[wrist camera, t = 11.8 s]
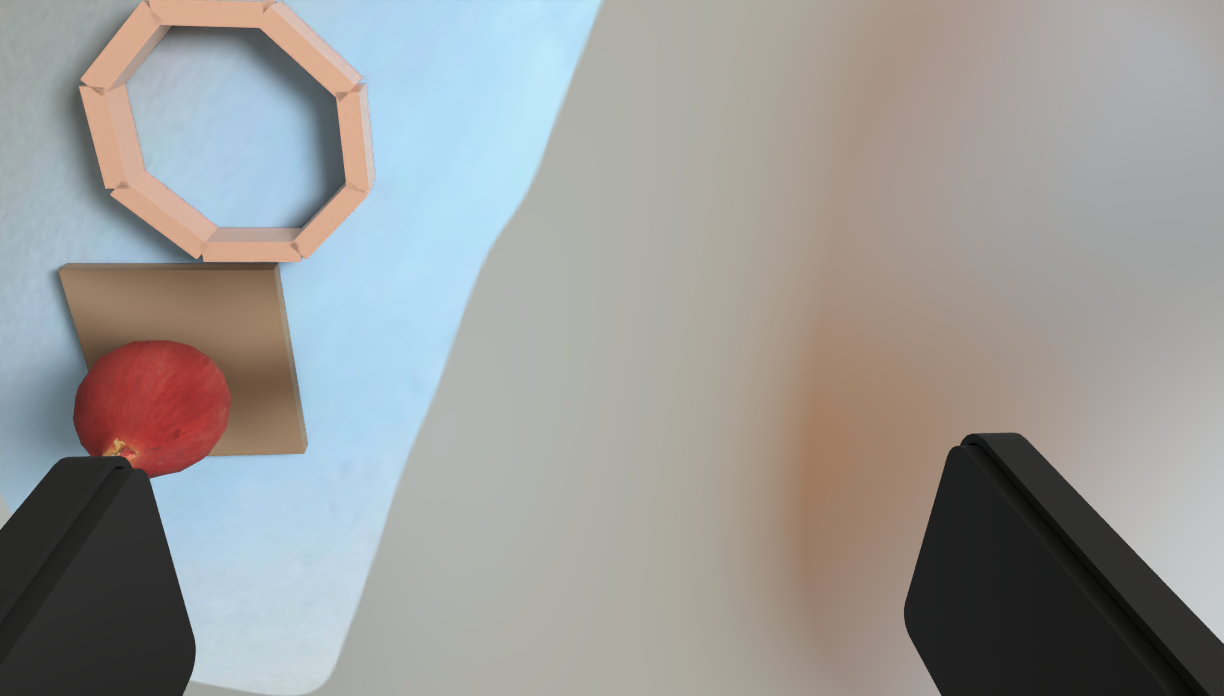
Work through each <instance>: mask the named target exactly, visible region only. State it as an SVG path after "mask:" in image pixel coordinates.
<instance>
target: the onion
mask: <svg viewBox="0 0 1224 696" xmlns="http://www.w3.org/2000/svg"><path fill="white" fill-rule="evenodd" d="M231 400H232V398H231V395H230V392H229V389H228V386H227V383H226V381H225V378H224V375H223V373H222V371H221V370H220V369H219V368H218V367H217V366H216V364H215V363H214V362H213V361H212V360H211V358H210V357H208V356H207V355H205V354H204V353H202V352H200V351H199V350H197V349H196V348H194V347H192V346H191V345H187V344H183V343H178V342H174V341H170V340H154V341H133V342H131V343H128V344H126V345H124V346H122V347H119V348H117V349H115V350H112V351H111V352H109V353H107V354H105V355H103V356H101V357H100V358H99V359H98V360H97V361H96V363H95V364H94V366H93V367H92V368H91V370H90V371H89V372H88V374H87V375H86V377H85V378H84V380H83V381H82V383H81V384H80V386H79V387H78V390H77V394H76V398H75V407H74V416H73V420H74V425H75V428H76V431H77V434H78V437H79V439H80V442H81V445H82V446H83V447H84V448H85V450H86V451H87V452H88V453H89V454H90V456H122V457H125V458H126V459H127V460H128V461H129V462H130V463H131V466H132V468H133V469H134V468H140V469H143V470H144V471H145V472H146V473H147V475H148V477H149V479H150V478H154V477H158V476H162V475H166V474H171V473H176V472H180V471H182V470H184V469H186V468H188V467H189V466H191V465H193V464H195V463H197V462H199V461H200V460H202V459H203V458H204V457H206V456H207V455H208V454H209V453H210V452H211V450H212V449H213V448H214V446H215V445H216V443H217V442H218V441H219V439H220V438H221V436H222V435H223V433H224V432H225V430H226V429H227V424H228V417H229V411H230V406H231Z"/></svg>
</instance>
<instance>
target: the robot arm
mask: <svg viewBox="0 0 1224 696" xmlns="http://www.w3.org/2000/svg"><path fill="white" fill-rule="evenodd" d="M904 619H905V625H906V628H907V631H908V634H909V636H910V638H911V640H912V642H913V644H914V646H915V647H916V649H917V651H918V653H919V655H920V657H921V659H922V660H923V662H924V664H925V666H926V668H927V670H928V672H929V673H930V675H931V677H932V679H933V681H934V683H935V684H936V686H937V688H938V690H939V692H940V694H941V696H1224V644H1223V643H1222V642H1221V641H1220V640H1219V639H1218V638H1217V637H1216V636H1215V635H1214V634H1213V633H1212V632H1211V630H1210V629H1209V628H1208V627H1207V626H1206V625H1205V624H1204V623H1203V622H1202V621H1201V620H1200V619H1199V618H1198V617H1197V616H1196V615H1195V614H1194V613H1193V612H1192V611H1191V610H1190V609H1189V608H1188V607H1187V606H1186V604H1185V603H1184V602H1183V601H1182V600H1181V599H1180V598H1179V597H1178V596H1177V595H1176V594H1175V593H1174V592H1173V591H1172V590H1171V589H1170V588H1169V587H1168V586H1167V585H1166V584H1165V583H1164V582H1163V581H1162V580H1161V579H1160V577H1159V576H1158V575H1157V574H1156V573H1155V572H1154V571H1153V570H1152V569H1151V568H1150V567H1149V566H1148V565H1147V564H1146V563H1145V562H1144V561H1143V560H1142V559H1141V558H1140V557H1139V556H1138V555H1137V554H1136V553H1135V551H1134V550H1133V549H1132V548H1131V547H1130V546H1129V545H1128V544H1127V543H1126V542H1125V541H1124V540H1123V539H1122V538H1121V537H1120V536H1119V535H1118V534H1117V533H1116V532H1115V531H1114V530H1113V529H1112V528H1111V527H1110V526H1109V524H1107V522H1106V521H1105V520H1104V519H1103V518H1102V517H1101V516H1100V515H1099V514H1098V513H1097V512H1096V511H1095V510H1094V509H1093V508H1092V507H1091V506H1090V505H1089V504H1088V503H1087V502H1086V501H1085V500H1084V499H1083V498H1082V496H1081V495H1079V494H1078V492H1077V491H1076V490H1075V489H1074V488H1073V487H1072V486H1071V485H1070V484H1069V483H1068V482H1067V481H1066V480H1065V479H1064V478H1063V477H1062V476H1061V475H1060V474H1059V473H1058V472H1057V470H1056V469H1055V468H1054V467H1053V466H1051V464H1050V463H1049V462H1048V461H1047V460H1046V459H1045V458H1044V457H1043V456H1042V455H1041V454H1040V453H1039V452H1038V451H1037V450H1036V449H1035V448H1034V447H1033V446H1032V445H1031V443H1029V441H1028V440H1027V439H1025V438H1024V437H1023V436H1022V435H1020V434H1017V433H981V434H980V433H978V434H970V435H967V436H966V437H965V438H964V439H963V440H962V442H961V444H960V446H955V447H953V448H952V449H951V450H950V451H949V454H948V456H947V460H946V463H945V466H944V470H943V473H942V477H941V480H940V484H939V487H938V490H937V494H936V498H935V501H934V505H933V508H932V511H931V515H930V518H929V522H928V525H927V529H926V532H925V536H924V539H923V543H922V546H921V550H920V553H919V556H918V560H917V564H916V567H915V570H914V574H913V577H912V581H911V585H910V588H909V592H908V595H907V598H906V602H905V607H904ZM195 654H196V645H195V639H194V635H193V632H192V628H191V625H190V621H189V618H188V614H187V610H186V607H185V603H184V600H183V596H182V593H181V589H180V586H179V582H178V579H177V575H176V572H175V568H174V564H173V561H172V557H171V554H170V550H169V547H168V543H167V540H166V536H165V533H164V529H163V525H162V522H161V518H160V515H159V511H158V508H157V504H156V501H155V497H154V494H153V490H152V487H151V483H150V480H149V477H148V475H147V473H146V472H145V471H144V470H143V469H140V468H134V469H133V468H132V466H131V463H130V462H129V461H128V460H127V459H126V458H125V457H122V456H88V457H66V458H63V459H61V460H59V461H58V462H57V463H56V464H55V465H54V466H53V467H52V468H51V470H50V471H49V472H48V473H47V474H46V476H45V477H44V478H43V479H42V480H41V482H40V483H39V484H38V485H37V486H36V488H35V489H34V490H33V491H32V492H31V494H30V495H29V496H28V497H27V498H26V500H25V501H24V502H23V503H22V504H21V506H20V507H19V508H18V509H17V510H16V512H15V513H14V514H13V515H12V516H11V518H10V519H9V520H8V522H7V523H6V524H5V525H4V526H3V527H2V529H1V530H0V696H183V693H184V691H185V689H186V686H187V684H188V682H189V679H190V677H191V674H192V671H193V668H194V663H195Z"/></svg>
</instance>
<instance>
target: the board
mask: <svg viewBox="0 0 1224 696" xmlns="http://www.w3.org/2000/svg"><path fill="white" fill-rule="evenodd" d="M58 272H59V275H60V278H61V281H62V285H63V288H64V291H65V295H66V298H67V301H68V305H69V308H70V311H71V314H72V318H73V321H74V324H75V328H76V331H77V334H78V338H79V341H80V344H81V348H82V351H83V354H84V357H85V361H86V364H87V367H88V371H90V370H91V368H92V367H93V366H94V364H95V363H96V361H97V360H98V359H99V358H100V357H101V356H103V355H105V354H107V353H109V352H111V351H112V350H115V349H117V348H119V347H122V346H124V345H126V344H128V343H131V342H133V341H154V340H170V341H174V342H178V343H183V344H187V345H191V346H192V347H194V348H196V349H197V350H199V351H200V352H202V353H204V354H205V355H207V356H208V357H210V358H211V360H212V361H213V362H214V363H215V364H216V366H217V367H218V368H219V369H220V370H221V371H222V373H223V375H224V378H225V381H226V383H227V386H228V389H229V392H230V395H231V398H232V400H231V406H230V411H229V417H228V424H227V429H226V430H225V432H224V433H223V435H222V436H221V438H220V439H219V441H218V442H217V443H216V445H215V446H214V448H213V449H212V450H211V452H210V453H209V454H208V455H207V456H229V455H267V454H304V453H305V450H306V448H307V445H308V442H307V436H306V430H305V424H304V418H303V412H302V406H301V400H300V394H299V387H298V381H297V375H296V369H295V363H294V357H293V351H292V345H291V339H290V333H289V327H288V320H287V314H286V308H285V302H284V296H283V290H282V284H281V278H280V272H279V266H278V263H67V264H66V265H65V266H63V267H62V268H61V269H59V270H58Z"/></svg>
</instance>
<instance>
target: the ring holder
mask: <svg viewBox="0 0 1224 696" xmlns="http://www.w3.org/2000/svg"><path fill="white" fill-rule="evenodd" d="M173 25H179V26H213V27H247V28H260V29H261V30H262V31H263V32H265V33H266V34H267V35H268V36H269V37H270V38H271V39H272V40H273V41H274V42H276V43H277V44H278V45H279V46H280V47H281V48H282V49H283V50H284V51H285V52H287V53H288V54H289V55H290V56H291V57H292V58H293V59H294V60H295V61H296V62H298V63H299V64H300V65H301V66H302V67H303V68H304V69H305V70H306V71H307V72H309V73H310V74H311V75H312V76H313V77H314V78H315V79H316V80H317V81H318V82H320V83H321V84H322V85H323V86H324V87H325V88H326V89H327V90H328V91H329V92H330V93H332V94H333V95H334V96H335V97H336V101H337V109H338V118H339V127H340V135H341V144H342V152H343V161H344V170H345V178H346V182H345V183H344V184H343V185H342V186H341V187H340V188H339V189H338V190H337V191H336V193H335V194H334V195H333V196H332V197H331V198H330V199H329V200H328V201H327V202H326V203H325V204H324V205H323V206H322V207H321V208H320V209H319V210H318V212H317V213H316V214H315V215H314V216H313V217H312V218H311V219H310V220H309V221H308V222H307V223H306V224H305V225H304V226H303V227H302V228H219V227H217V226H216V225H215V224H213V223H212V222H211V221H210V220H208V219H207V218H206V217H204V216H203V215H202V214H201V213H199V212H198V211H197V210H195V209H194V208H193V207H191V206H190V205H189V204H188V203H186V202H185V201H184V200H182V199H181V198H180V197H179V196H177V195H176V194H175V193H173V192H172V191H171V190H169V189H168V188H167V187H166V186H164V185H163V184H162V183H160V182H159V181H158V180H157V179H155V178H154V177H153V176H151V175H150V174H149V173H147V172H146V171H145V167H144V163H143V158H142V154H141V150H140V146H139V141H138V137H137V133H136V128H135V124H134V120H133V116H132V111H131V107H130V103H129V99H128V94H127V90H126V86H125V84H126V82H127V81H128V80H129V79H130V77H131V76H132V75H133V74H134V73H135V71H136V70H137V69H138V68H139V66H140V65H141V64H142V63H143V61H144V60H145V59H146V58H147V56H148V55H149V54H150V53H151V52H152V50H153V49H154V48H155V47H156V45H157V44H158V43H159V42H160V40H161V39H162V38H163V37H164V35H165V34H166V33H167V32H168V31H169V29H170V28H171V27H172V26H173ZM362 78H363V77H362V76H361V75H360V74H359V73H358V72H357V71H356V70H355V69H354V68H352V67H351V66H350V65H349V64H348V63H347V62H346V61H345V60H344V59H343V58H342V57H341V56H340V55H339V54H338V53H337V52H335V51H334V50H333V49H332V48H331V47H330V46H329V45H328V44H327V43H326V42H325V41H324V40H323V39H322V38H321V37H319V36H318V35H317V34H316V33H315V32H314V31H313V30H312V29H311V28H310V27H309V26H308V25H307V24H306V23H305V22H304V21H302V20H301V19H300V18H299V17H298V16H297V15H296V14H295V13H294V12H293V11H292V10H291V9H290V8H289V7H288V6H286V5H285V4H284V3H283V2H282V1H280V2H278V3H275V0H146V1H142V2H141V3H140V4H139V5H138V7H137V8H136V9H135V10H134V12H133V13H132V14H131V15H130V17H129V18H128V19H127V21H126V22H125V23H124V24H123V26H122V27H121V28H120V29H119V31H118V32H117V33H116V35H115V36H114V37H113V38H112V40H111V41H110V42H109V43H108V45H107V46H106V47H105V48H104V50H103V51H102V52H101V54H100V55H99V56H98V57H97V59H96V60H95V61H94V62H93V64H92V65H91V66H90V68H89V69H88V70H87V71H86V73H85V74H84V75H83V76H82V78H81V79H80V80H81V81H83V82H84V83H85V84H84V85H81V86H79V89H80V93H81V96H82V100H83V104H84V108H85V112H86V116H87V120H88V123H89V127H90V131H91V135H92V139H93V143H94V146H95V150H96V154H97V158H98V162H99V166H100V170H101V173H102V177H103V181H104V185H105V188H108V189H114V191H113V192H112V193H111V194H110V195H111V196H112V197H114V198H115V199H116V200H118V201H119V202H120V203H122V204H123V205H124V206H126V207H127V208H128V209H130V210H131V211H132V212H134V213H135V214H136V215H138V216H139V217H140V218H142V219H143V220H144V221H146V222H147V223H148V224H150V225H151V226H152V227H154V228H155V229H156V230H158V231H159V232H160V233H162V234H163V235H165V236H166V237H167V238H169V239H170V240H171V241H173V242H174V243H175V244H177V245H178V246H179V247H181V248H182V249H183V250H185V251H186V252H187V253H189V254H190V255H191V256H193V257H194V258H195V259H198V258H199V257H200V256H201V254H202V256H203V261H204V262H301V260H302V259H303V257H304V258H305V259H307V258H308V257H309V256H310V255H311V254H312V253H313V252H314V251H315V250H316V249H317V248H318V247H319V246H320V245H321V244H322V243H323V242H324V241H325V240H326V239H327V238H328V237H329V236H330V235H331V234H332V233H333V231H334V230H335V229H336V228H337V227H338V226H339V225H340V224H341V223H342V222H343V221H344V220H345V219H346V218H347V217H348V216H349V215H350V214H351V213H352V212H353V211H354V210H355V209H356V208H357V207H358V206H359V205H360V203H361V202H362V201H363V200H364V199H365V198H366V197H367V196H368V194H369V192H370V190H371V188H372V186H373V182H374V180H375V168H374V158H373V148H372V137H371V127H370V117H369V107H368V97H367V86H366V84H357V83H358V82H359V81H360V80H361V79H362Z"/></svg>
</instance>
